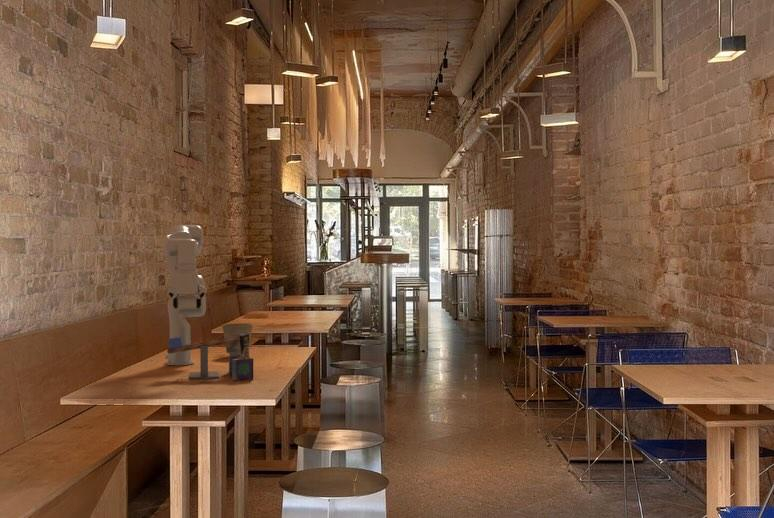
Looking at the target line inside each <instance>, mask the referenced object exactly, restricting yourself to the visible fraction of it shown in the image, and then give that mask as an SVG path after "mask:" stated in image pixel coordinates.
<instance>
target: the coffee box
mask: <svg viewBox="0 0 774 518" xmlns="http://www.w3.org/2000/svg"><path fill="white" fill-rule="evenodd" d="M232 337H239V340H240V347H241V351H236V352H230V353H228V354H229V355H228V357H229V356H233V355H236V359H241V358H240V357H241V356H240V355H242V354H243V356H244V357H247V358H248V357H250V342H249V334H234V335H230V336H229V338H232Z"/></svg>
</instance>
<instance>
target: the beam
mask: <svg viewBox="0 0 774 518" xmlns="http://www.w3.org/2000/svg"><path fill="white" fill-rule="evenodd" d="M224 345H225V351H226V354H229V353H230V352H236V351H241V347H240V340H239V337H232V338H226V339H225V338H221V339H217V340H216V339H214V340H210V341H203V342H197V343H193V344H190V345H184V346H183V348H177V349H171V350H170V347H168V348H167V355H168V354H170V353H176V352H182V351H188V350H191V351H193V350H199V349H200V346H208V348H211V347H216V346H224Z"/></svg>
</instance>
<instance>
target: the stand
mask: <svg viewBox="0 0 774 518" xmlns="http://www.w3.org/2000/svg"><path fill="white" fill-rule="evenodd" d="M208 348H209V347H208V346H200V348H199V349H200V351H199V353H200V355H199V356H200V358H199V360H200V367H199V369H200V371H194V372H193V371H192V372H189V380H190V381H194V380H219V379H220V374H219V371H218V370H217V371H209V349H208ZM233 359H236V355H233V356H229V355H228V376H229V377H232V360H233Z"/></svg>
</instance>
